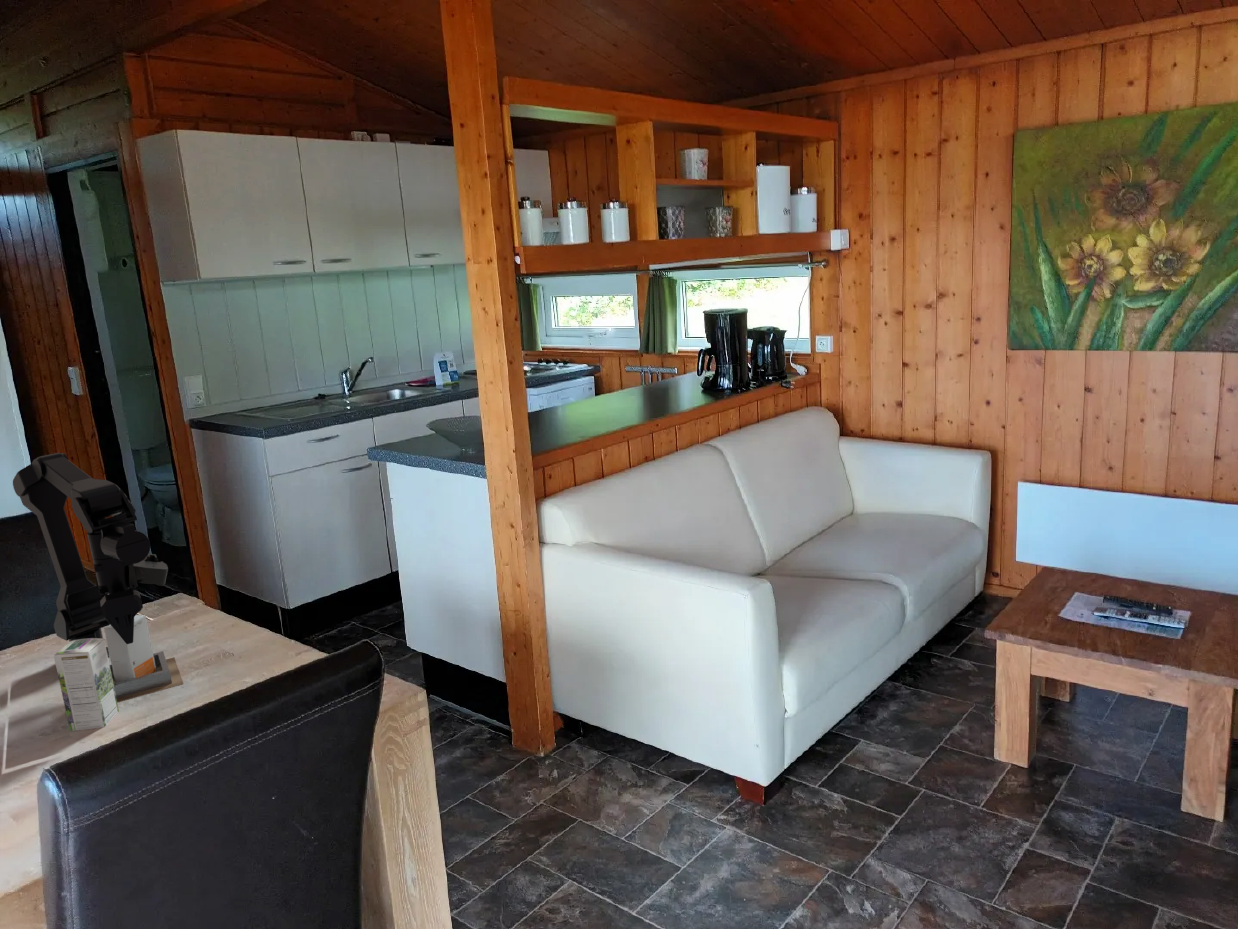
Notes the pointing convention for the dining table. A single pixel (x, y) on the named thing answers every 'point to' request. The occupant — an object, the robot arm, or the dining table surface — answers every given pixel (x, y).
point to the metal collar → (144, 679)
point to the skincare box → (131, 652)
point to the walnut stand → (175, 680)
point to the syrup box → (86, 683)
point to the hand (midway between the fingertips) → (127, 635)
